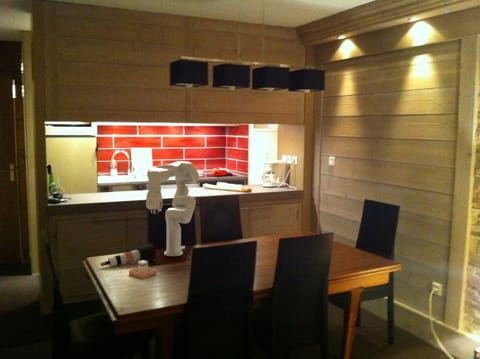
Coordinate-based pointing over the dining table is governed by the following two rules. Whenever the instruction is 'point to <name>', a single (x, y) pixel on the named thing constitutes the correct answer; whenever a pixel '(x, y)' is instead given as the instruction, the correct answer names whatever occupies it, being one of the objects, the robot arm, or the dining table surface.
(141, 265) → the block
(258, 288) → the dining table surface
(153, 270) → the dish
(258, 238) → the dining table surface
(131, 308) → the dining table surface
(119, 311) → the dining table surface
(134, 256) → the striped tapered cylinder
